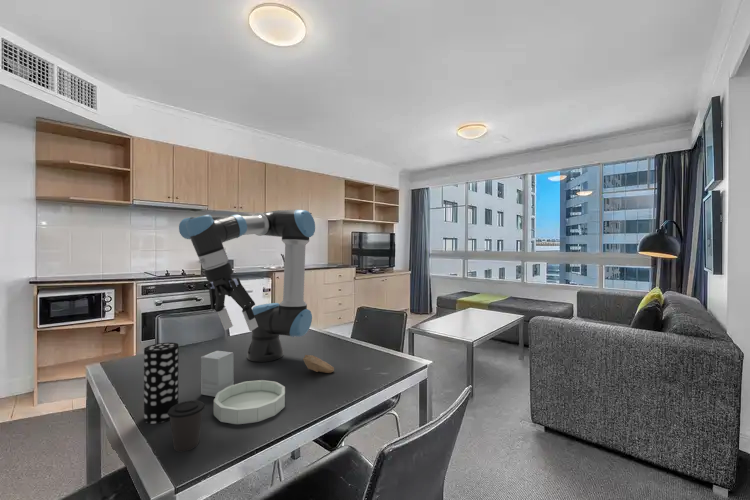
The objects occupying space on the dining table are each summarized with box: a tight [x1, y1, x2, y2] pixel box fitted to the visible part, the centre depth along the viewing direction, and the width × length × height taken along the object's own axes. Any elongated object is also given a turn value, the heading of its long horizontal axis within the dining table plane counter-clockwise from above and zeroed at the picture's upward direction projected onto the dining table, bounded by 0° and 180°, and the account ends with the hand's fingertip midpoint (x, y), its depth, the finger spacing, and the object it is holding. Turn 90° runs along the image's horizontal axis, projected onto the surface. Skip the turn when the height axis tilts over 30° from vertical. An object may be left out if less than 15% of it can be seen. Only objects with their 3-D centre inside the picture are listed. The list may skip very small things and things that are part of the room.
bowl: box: [213, 379, 286, 425], centre depth 103 cm, size 20×20×4 cm
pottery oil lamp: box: [302, 354, 335, 374], centre depth 131 cm, size 9×12×7 cm
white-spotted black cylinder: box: [143, 342, 179, 425], centre depth 97 cm, size 8×8×20 cm
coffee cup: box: [167, 400, 206, 452], centre depth 83 cm, size 8×8×10 cm
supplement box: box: [200, 350, 235, 397], centre depth 113 cm, size 7×7×13 cm
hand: (241, 328), depth 107 cm, fingers open, 13 cm apart
